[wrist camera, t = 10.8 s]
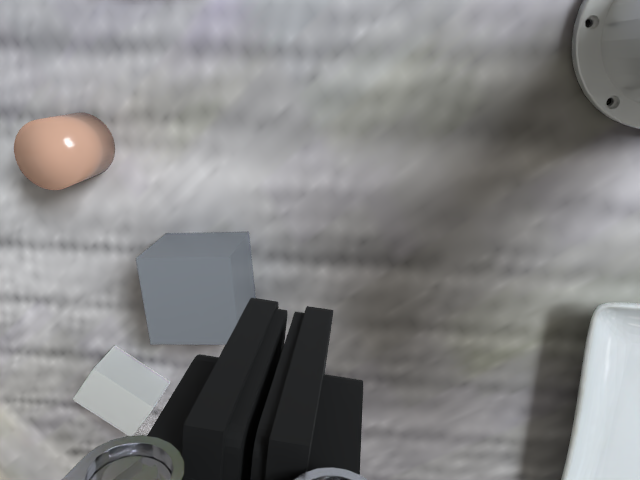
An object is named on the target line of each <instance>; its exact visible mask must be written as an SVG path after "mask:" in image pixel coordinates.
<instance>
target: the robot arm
mask: <svg viewBox="0 0 640 480" xmlns="http://www.w3.org/2000/svg"><path fill="white" fill-rule="evenodd" d="M587 19H589V20H590V21H591V24H590V26H589V27H586V26H585V21H586V20H587ZM572 59H573V66H574V70H575V74H576V77H577V81H578V83H579V84H580V86H581V88H582V90H583V92H584V94H585V96H586V97H587V98H588V99H589V100H590V102H591V103H592V104H593V105H594V106H595V108H597V109H598V110H599V111H600V112H602V113H603V114H604V115H606V116H607V117H608V118H610V119H612V120H614V121H617V122H619V123H621V124H623V125H626V126H630V127H634V128H637V129H640V0H583V2H582V4H581V6H580V8H579V11H578V15H577V18H576V21H575V24H574V29H573V38H572ZM608 98H610V99H611V103H610V104H609V105H606V102H607V100H608ZM332 317H333V310H328V309H321V308H315V307H308V306H307V307H306V310H305V313H300V312H295V313H294V317H293V320H292V323H291V326H290V329H289V332H288V335H287V338H286V341H285V344H284V340H285V331H286V322H287V310H281V309H278V302H276V301H269V300H263V299H256V298H250V300H249V302H248V304H247V305H246V307H245V309H244V311H243V313H242V315H241V317H240V319H239V321H238V323H237V324H236V326H235V328H234V330H233V332H232V334H231V336H230V338H229V340H228V341H227V343H226V345H225V347H224V349H223V351H222V353H221V355H220V357H212V356H206V355H197V356H196V357H195V359H194V360H193V362H192V363H191V365H190V366H189V368H188V370H187V371H186V373H185V375H184V376H183V378H182V380H181V381H180V383H179V385H178V386H177V388H176V389H175V391H174V393H173V394H172V396H171V398H170V399H169V401H168V403H167V404H166V406H165V407H164V409H163V411H162V412H161V414H160V416H159V417H158V419H157V421H156V422H155V424H154V426H153V427H152V429H151V430H150V432H149V434H148V435H147V436H144V435H141V436H126V437H122V438H118V439H114V440H111V441H109V442H107V443H105V444H102V445H100V446H98V447H96V448H95V449H94V450H92V451H91V452H90V453H89V454H87V455H86V456H85V457H84V458H83V459H82V460H81V461H80V462H79V463H78V464H77V465H76V466H75V467H74V468H73V469H72V470H71V471H70V472H69V473H68V474H67V475H66V476H65V477H64V478H63V479H62V480H367V479H366V478H364V477H363V476H361V475H360V451H361V426H362V401H363V381H362V380H356V379H350V378H344V377H337V376H331V375H325V367H326V360H327V352H328V345H329V338H330V331H331V324H332Z"/></svg>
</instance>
